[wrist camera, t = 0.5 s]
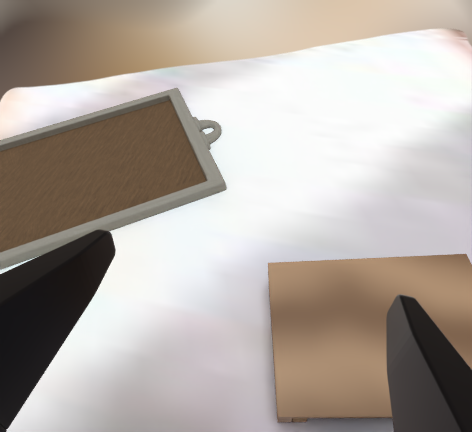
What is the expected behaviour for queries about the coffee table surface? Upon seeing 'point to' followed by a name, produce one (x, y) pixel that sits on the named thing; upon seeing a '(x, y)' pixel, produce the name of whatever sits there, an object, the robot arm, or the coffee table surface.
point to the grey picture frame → (102, 173)
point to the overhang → (355, 328)
